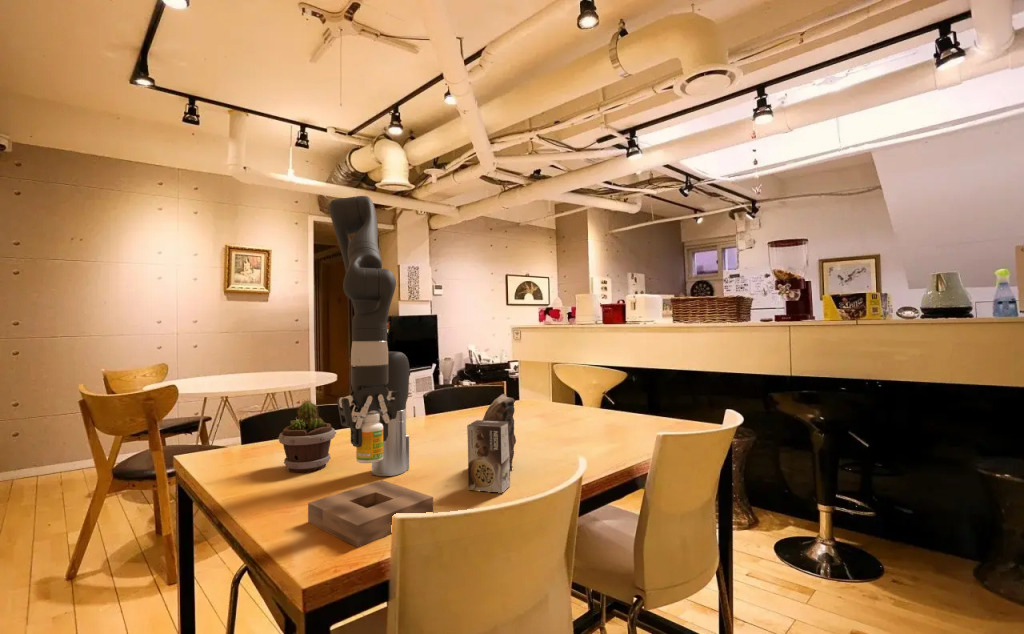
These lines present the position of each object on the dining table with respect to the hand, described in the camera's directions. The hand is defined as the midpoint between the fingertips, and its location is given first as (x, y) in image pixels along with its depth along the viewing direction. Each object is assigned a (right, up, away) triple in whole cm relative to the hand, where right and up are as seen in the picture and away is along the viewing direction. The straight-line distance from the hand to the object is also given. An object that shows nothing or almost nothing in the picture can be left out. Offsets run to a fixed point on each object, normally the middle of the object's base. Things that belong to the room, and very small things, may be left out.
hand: (369, 443), depth 98 cm
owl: (+24, -16, +35) cm, 46 cm away
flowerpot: (-29, -17, +36) cm, 50 cm away
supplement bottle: (0, -4, 0) cm, 4 cm away
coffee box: (+24, -16, +18) cm, 34 cm away
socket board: (0, -16, 0) cm, 16 cm away
